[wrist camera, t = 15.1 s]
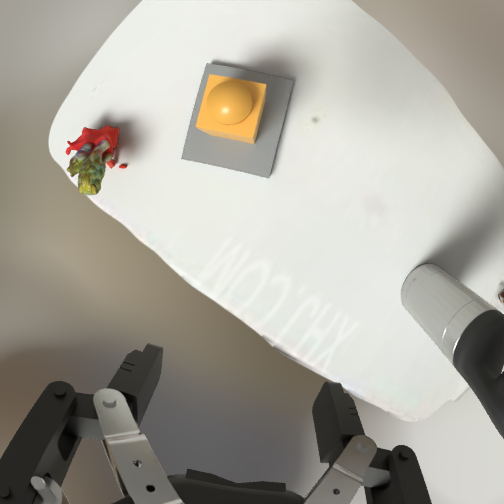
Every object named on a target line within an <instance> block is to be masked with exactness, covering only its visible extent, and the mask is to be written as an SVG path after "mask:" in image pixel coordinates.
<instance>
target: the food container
mask: <svg viewBox="0 0 504 504" xmlns="http://www.w3.org/2000/svg"><path fill="white" fill-rule="evenodd" d="M498 296H499V299H500V301H501V302H502V303H503V304H504V290H503V291H502V292H500V293H499V294H498Z"/></svg>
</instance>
